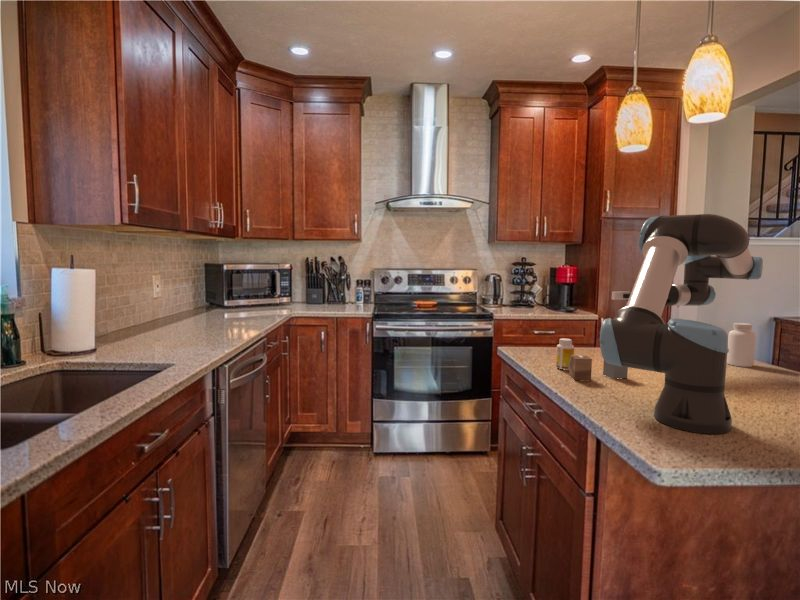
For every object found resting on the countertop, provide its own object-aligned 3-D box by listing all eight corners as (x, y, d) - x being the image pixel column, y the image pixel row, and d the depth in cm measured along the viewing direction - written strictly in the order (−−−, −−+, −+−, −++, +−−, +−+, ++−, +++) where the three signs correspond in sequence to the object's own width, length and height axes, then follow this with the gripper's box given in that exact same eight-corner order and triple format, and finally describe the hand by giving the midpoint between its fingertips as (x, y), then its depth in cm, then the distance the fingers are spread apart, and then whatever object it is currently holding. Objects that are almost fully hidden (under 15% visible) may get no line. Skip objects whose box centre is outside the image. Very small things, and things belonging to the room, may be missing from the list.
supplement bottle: (576, 369, 156) (577, 339, 155) (567, 371, 153) (568, 341, 152) (561, 366, 160) (563, 337, 159) (552, 368, 157) (553, 338, 156)
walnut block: (590, 381, 141) (592, 358, 140) (574, 380, 141) (575, 357, 141) (585, 377, 146) (586, 354, 145) (569, 376, 146) (570, 354, 146)
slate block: (627, 379, 144) (628, 356, 144) (613, 379, 143) (614, 357, 143) (616, 375, 149) (617, 353, 148) (602, 375, 148) (604, 353, 147)
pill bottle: (731, 366, 163) (734, 324, 161) (722, 361, 170) (725, 321, 169) (757, 368, 160) (761, 325, 159) (747, 363, 168) (751, 322, 167)
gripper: (686, 307, 156) (625, 308, 151) (657, 303, 169) (600, 304, 164) (687, 285, 155) (626, 285, 150) (658, 283, 168) (601, 283, 163)
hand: (613, 295), depth 157 cm, fingers closed
